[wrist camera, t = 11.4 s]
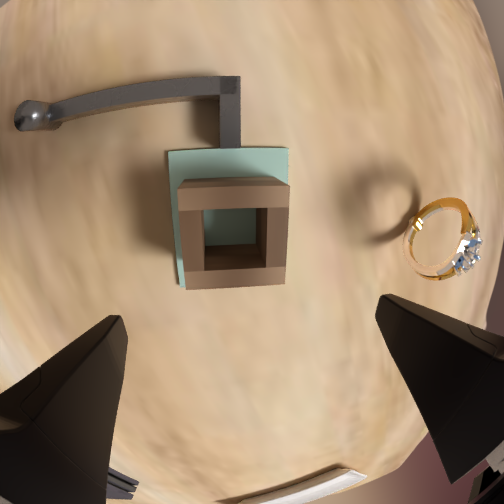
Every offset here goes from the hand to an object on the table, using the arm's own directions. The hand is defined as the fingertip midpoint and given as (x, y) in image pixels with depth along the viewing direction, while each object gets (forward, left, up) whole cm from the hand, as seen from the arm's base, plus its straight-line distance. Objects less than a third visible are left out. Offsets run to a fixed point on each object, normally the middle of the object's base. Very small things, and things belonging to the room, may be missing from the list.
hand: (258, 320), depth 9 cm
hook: (-7, +7, -12) cm, 15 cm away
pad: (0, 0, -12) cm, 12 cm away
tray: (+12, -65, -12) cm, 67 cm away
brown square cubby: (0, 0, -11) cm, 11 cm away
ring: (+16, 0, -12) cm, 20 cm away
